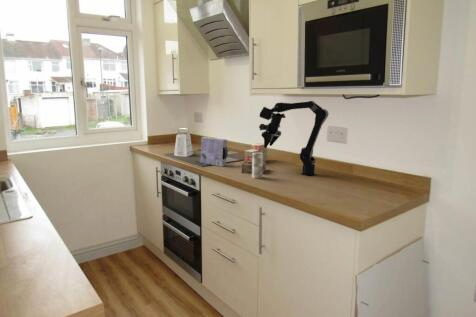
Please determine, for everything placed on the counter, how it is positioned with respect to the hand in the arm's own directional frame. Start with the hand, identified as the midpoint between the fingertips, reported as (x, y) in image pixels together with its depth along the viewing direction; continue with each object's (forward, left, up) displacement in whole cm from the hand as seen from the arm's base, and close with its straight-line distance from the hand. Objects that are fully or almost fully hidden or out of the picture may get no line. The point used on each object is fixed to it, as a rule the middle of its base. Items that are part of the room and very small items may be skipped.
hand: (267, 146), depth 214 cm
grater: (+73, +18, -15) cm, 77 cm away
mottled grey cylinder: (-12, +19, -14) cm, 26 cm away
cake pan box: (+31, +19, -15) cm, 39 cm away
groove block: (+1, +10, -14) cm, 17 cm away
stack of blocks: (+21, -9, -15) cm, 27 cm away
